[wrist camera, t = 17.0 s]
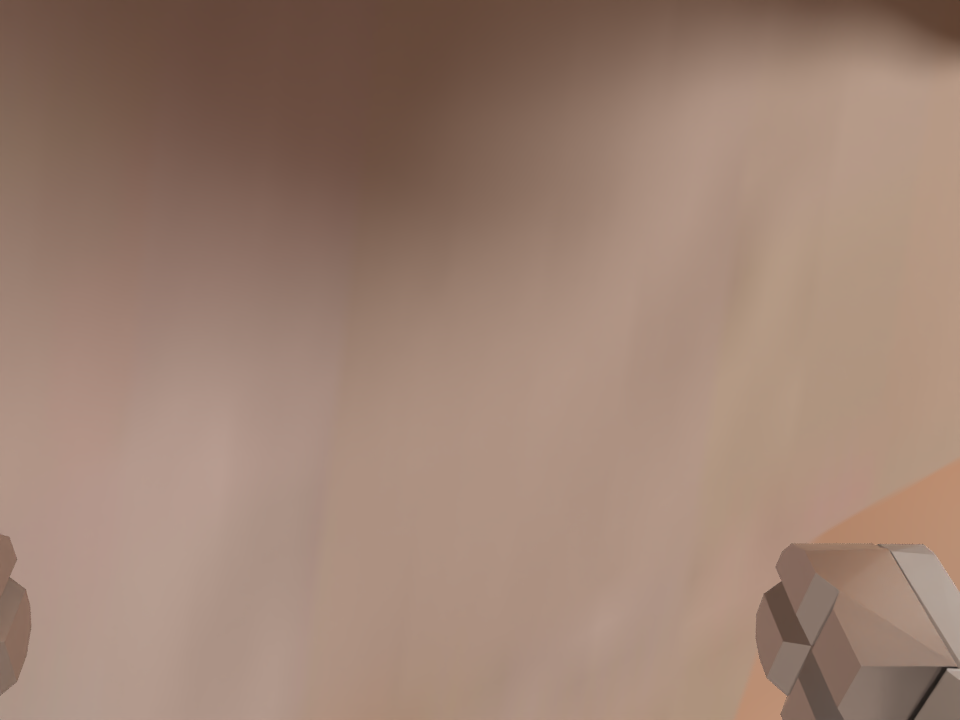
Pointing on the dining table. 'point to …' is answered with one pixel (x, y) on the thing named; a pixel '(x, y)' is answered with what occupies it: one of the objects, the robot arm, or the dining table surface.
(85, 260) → the dining table surface
